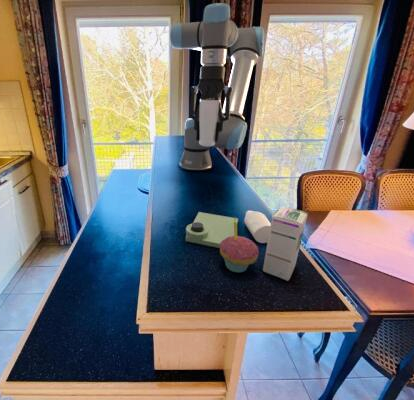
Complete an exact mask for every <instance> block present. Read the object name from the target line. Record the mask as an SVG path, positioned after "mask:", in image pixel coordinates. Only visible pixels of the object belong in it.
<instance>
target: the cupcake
mask: <svg viewBox="0 0 414 400" xmlns="http://www.w3.org/2000/svg"><path fill="white" fill-rule="evenodd" d="M233 218H234V219H235V218H236V217H233ZM219 247H220V248H219V254H220V256H222V258H223V260H224V263H225V267H226V269H228V270H229V271H230V272H232V273H244V272H245V271H246V270H247V269H248V267H249V266H250V265H253V264H254V263H256V261H257V260H258V258H259V247H258V245H257V244H256V243H255V242H254V241H253V240H251V239H249V237H248V238H247V237H245V236H241V235H238V223H237V221H236V219H235V221H234V236H231V237H227V238H225V239H224V240H222V242H221V243H220V245H219Z"/></svg>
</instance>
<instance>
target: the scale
mask: <svg viewBox="0 0 414 400" xmlns="http://www.w3.org/2000/svg"><path fill="white" fill-rule="evenodd" d="M234 218H235V219H236V221H237V224H238V223H239V218H237V217H231V216H224V215H219V214H212V213H207V212H201V211H198V213H197V214H196V216H195V219H194V220H193V222H192V223H190V224H187V226H186V228H185V234H186V235H185V238H184V239H185V240H184V241H185V242H188V243H193V244H198V245H203V246H207V247H213V248H217V249H220V247H219V245H220V243H221V242H222V240H224V239H225V238H227V237H231V236H234V221H235V219H234ZM195 222H199V223H202V224H203V231H202V232H193V231H192V224H193V223H195Z"/></svg>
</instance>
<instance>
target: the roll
mask: <svg viewBox="0 0 414 400" xmlns="http://www.w3.org/2000/svg"><path fill="white" fill-rule="evenodd" d="M243 222H244V223H243V224H244V225H245V226H246V228H247V229H248V231H249V232H250V234H251V236H252V237H253V238H254V240H255V241H256V242H258V243H260V244H267V242H268V237H269V232H270V226H271V222H270V221H269V219H268V217H267V216H266V215H265V214H264V213H263V212H260V211H254V210H246V212H245V216H244V219H243Z"/></svg>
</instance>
